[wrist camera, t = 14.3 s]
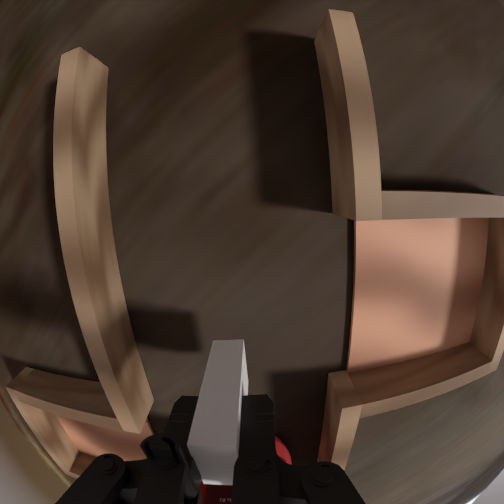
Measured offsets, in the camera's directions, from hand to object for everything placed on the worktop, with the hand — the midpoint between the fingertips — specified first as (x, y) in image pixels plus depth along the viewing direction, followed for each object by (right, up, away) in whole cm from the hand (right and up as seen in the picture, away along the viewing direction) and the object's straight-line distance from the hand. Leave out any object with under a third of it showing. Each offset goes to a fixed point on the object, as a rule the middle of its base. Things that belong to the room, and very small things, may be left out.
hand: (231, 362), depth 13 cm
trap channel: (0, -1, +3) cm, 3 cm away
